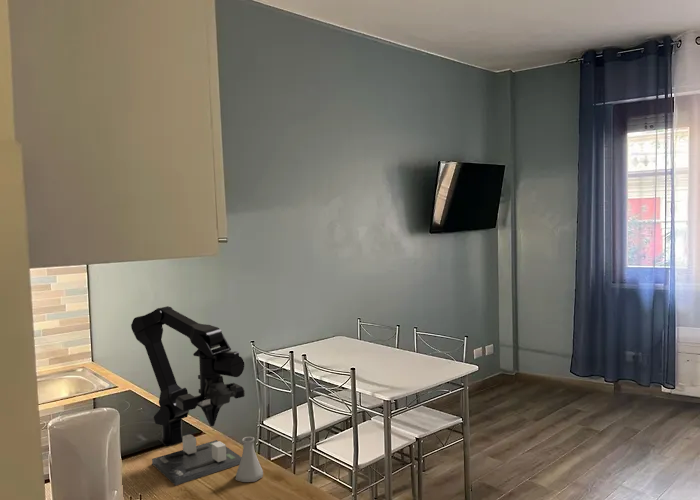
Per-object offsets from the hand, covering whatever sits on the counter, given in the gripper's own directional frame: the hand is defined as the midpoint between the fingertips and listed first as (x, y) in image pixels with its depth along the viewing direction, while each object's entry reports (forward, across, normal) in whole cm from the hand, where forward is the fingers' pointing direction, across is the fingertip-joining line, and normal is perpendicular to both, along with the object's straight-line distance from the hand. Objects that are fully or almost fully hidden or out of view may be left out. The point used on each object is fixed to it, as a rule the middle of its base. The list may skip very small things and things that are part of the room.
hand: (211, 425), depth 163 cm
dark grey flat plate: (+7, -7, -5) cm, 11 cm away
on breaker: (+5, -3, -10) cm, 12 cm away
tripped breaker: (+5, -7, 0) cm, 9 cm away
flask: (+8, 0, -21) cm, 22 cm away
